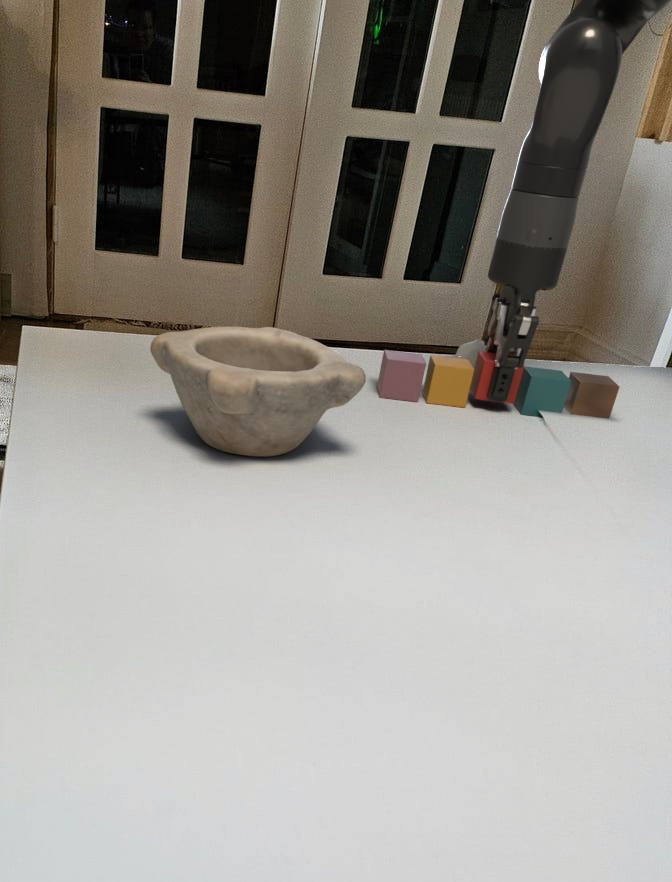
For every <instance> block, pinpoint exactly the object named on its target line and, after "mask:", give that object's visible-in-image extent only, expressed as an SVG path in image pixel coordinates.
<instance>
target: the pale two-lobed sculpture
mask: <svg viewBox="0 0 672 882" xmlns="http://www.w3.org/2000/svg"><path fill="white" fill-rule="evenodd" d="M485 348H486V345H484V340H481V339H479V338H476V339H474V340H472V341H469V342H465V343H463V344H461V345H460V346H458V348H457V350H456V353H455V354H454V355H453V356H452V358H459V359H467V360H469V362H470V363H471V365H472V367H473V368H474V367H475V363H476V359H477V355H478V351H483V352H485ZM458 356H461V357H458Z"/></svg>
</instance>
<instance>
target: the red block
mask: <svg viewBox="0 0 672 882" xmlns="http://www.w3.org/2000/svg"><path fill="white" fill-rule="evenodd" d="M512 355H513V356H514V354H512ZM495 359H496V353H492V352H483V351H478V355H477V359H476V363H475V367H474V373H473V377H472V381H471V385H470V389H469V392H471V394H472V396H473V398H474V399H475V400H479V401H486V402H492V401H491V400H489V399H488V397H487V393H488V389H489V385H490V381H491V377H492V373H493V369H494V366H495V364H494V361H495ZM524 366H525V364H524V365H523V367H522V368H518V369H517V370H515V371H514V375H513V379H512V382H511V386H510V390H509V393H508V397H507V400H506V401H504V402H502V403H505V404H511V405H512V404H513V405H514V401H515V397H516V394H517V390H518V387H519V383H520V379H521V376H522V372H523V368H524ZM494 402H496V403H501V402H500V401H494Z"/></svg>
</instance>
